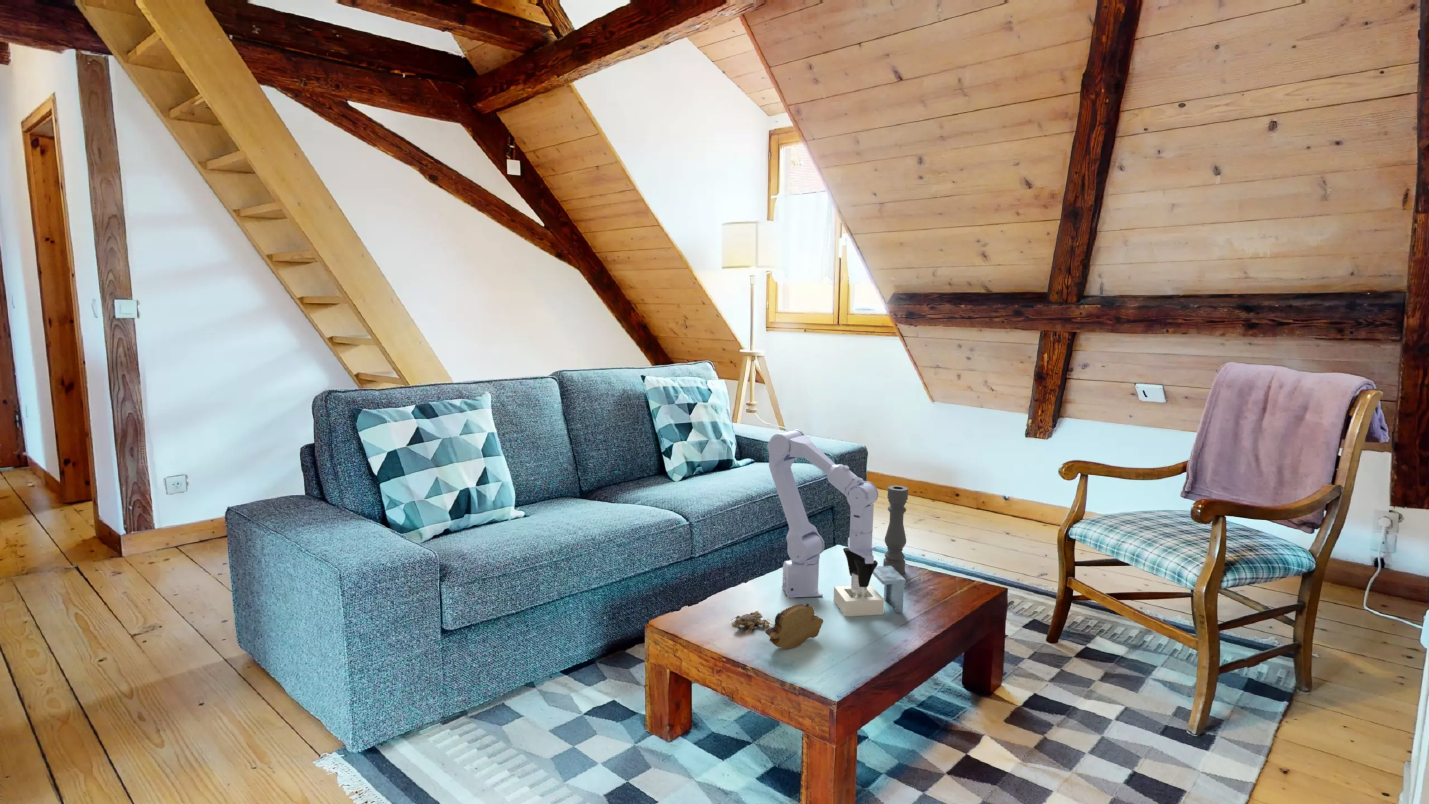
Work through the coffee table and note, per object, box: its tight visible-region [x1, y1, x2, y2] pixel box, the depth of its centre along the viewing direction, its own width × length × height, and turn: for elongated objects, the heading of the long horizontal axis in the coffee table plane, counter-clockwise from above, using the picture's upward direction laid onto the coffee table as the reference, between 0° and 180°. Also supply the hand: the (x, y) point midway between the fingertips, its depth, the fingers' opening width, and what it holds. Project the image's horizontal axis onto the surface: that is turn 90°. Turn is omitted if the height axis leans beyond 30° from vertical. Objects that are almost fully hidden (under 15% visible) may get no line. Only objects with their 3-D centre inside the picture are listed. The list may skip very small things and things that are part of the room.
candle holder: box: [882, 485, 909, 576], centre depth 233 cm, size 6×6×25 cm
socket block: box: [833, 584, 885, 617], centre depth 209 cm, size 10×10×4 cm
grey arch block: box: [872, 565, 907, 614], centre depth 209 cm, size 6×10×9 cm, turn 9°
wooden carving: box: [764, 603, 824, 650], centre depth 186 cm, size 16×5×10 cm, turn 131°
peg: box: [850, 572, 867, 598], centre depth 208 cm, size 4×4×8 cm
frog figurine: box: [729, 610, 774, 635], centre depth 197 cm, size 12×12×4 cm
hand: (858, 580), depth 208 cm, fingers open, 7 cm apart
